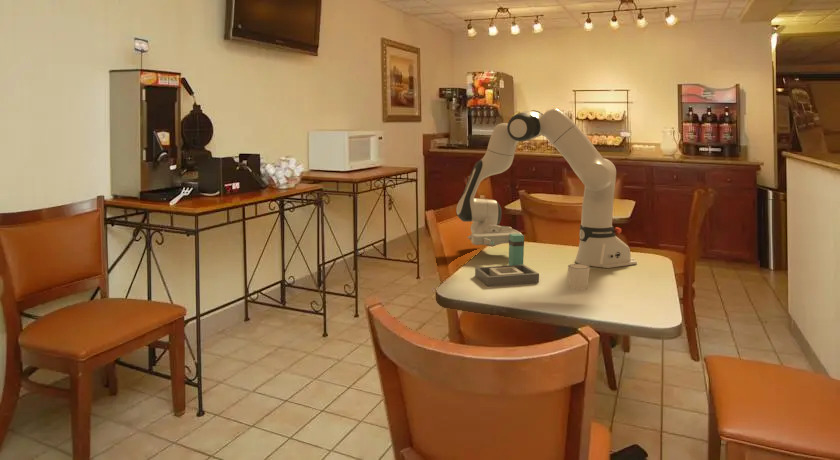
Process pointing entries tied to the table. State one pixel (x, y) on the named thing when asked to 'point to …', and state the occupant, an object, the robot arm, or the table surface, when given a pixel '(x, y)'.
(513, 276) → the grey tray
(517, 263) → the plug
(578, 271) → the beige cylinder
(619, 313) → the table surface
